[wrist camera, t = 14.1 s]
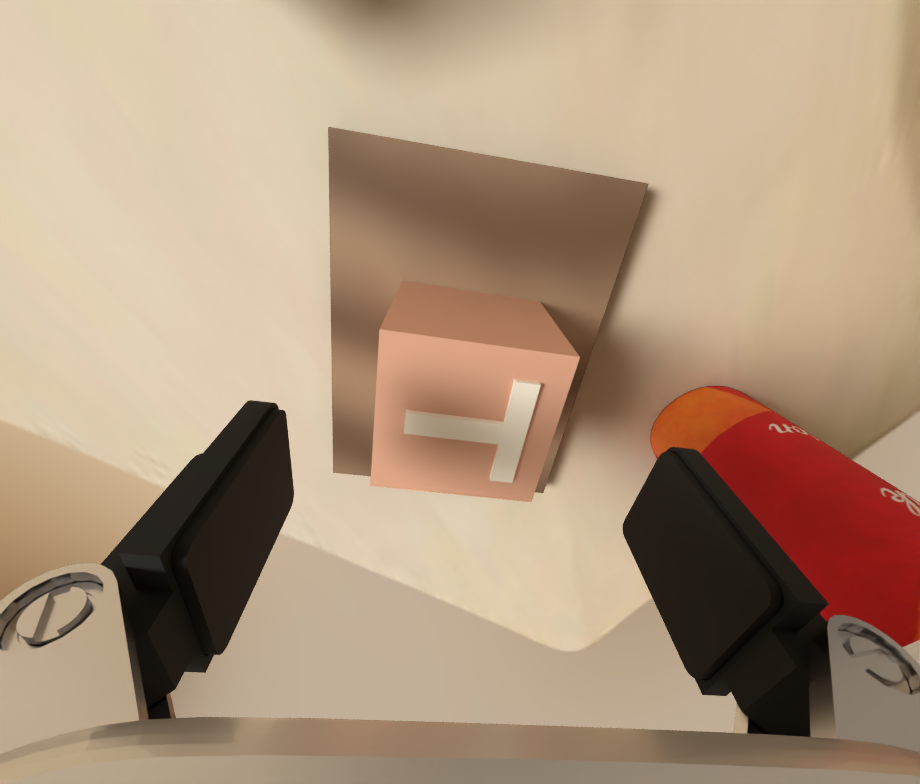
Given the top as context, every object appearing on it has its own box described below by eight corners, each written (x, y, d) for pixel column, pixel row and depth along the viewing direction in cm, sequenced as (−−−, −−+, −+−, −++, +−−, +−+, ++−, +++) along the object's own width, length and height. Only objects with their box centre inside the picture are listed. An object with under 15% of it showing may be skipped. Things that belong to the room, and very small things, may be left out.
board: (335, 130, 14) (328, 126, 14) (637, 183, 16) (648, 183, 15) (337, 461, 22) (333, 472, 21) (539, 481, 23) (543, 492, 22)
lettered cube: (402, 280, 16) (378, 331, 11) (539, 301, 17) (582, 359, 11) (392, 401, 19) (369, 489, 14) (509, 415, 20) (532, 505, 14)
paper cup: (771, 457, 23) (1145, 783, 10) (641, 494, 24) (839, 824, 12) (773, 343, 19) (1345, 636, 7) (619, 394, 20) (873, 718, 8)
